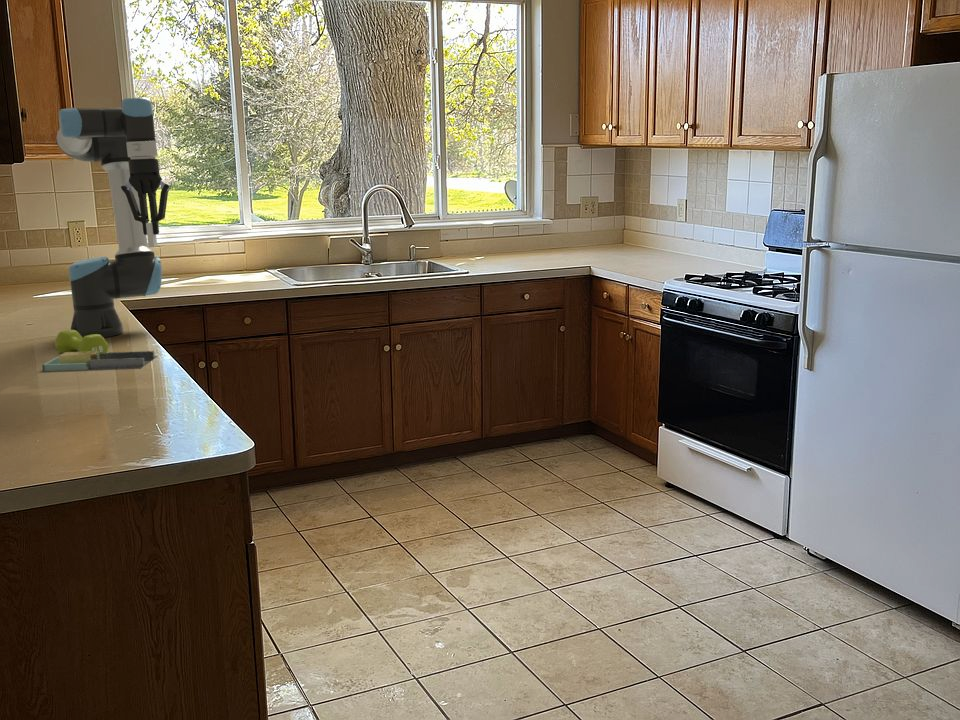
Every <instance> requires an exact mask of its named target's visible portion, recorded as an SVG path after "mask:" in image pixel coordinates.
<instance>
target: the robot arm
mask: <svg viewBox="0 0 960 720" xmlns="http://www.w3.org/2000/svg"><path fill="white" fill-rule="evenodd" d="M58 120H59V121H58V122H59V123H58V124H59V129H58V131H57V132H56V133H57V134H56V138H55V139H56V144H57V147H58V148H59V150H60V151H61V152H62V153H63V154H64V155H66V156H68V157H69V158H72V159H74V160H78V161H82V162H89V163H90V162H92V163H93V162H94V163H95V162H97V163H98V162H99V163H100V164H101V169H103V170H104V171H105V172H107V175H108V182H109V189H110V196H111V201H112V208H113V209H112V210H113V216H114V223H115V228H116V229H115V230H116V236H117V244H118V250H117V252H116V253H115V254H114V258H115V260H110V259H109V257H107V256H100V257H99V256H98V257H92V258H87V259H82V260H79V261H75V262H73V263H71V265H70V266H69V268H68V274H69V275H68V277H69V278H68V281H69V282H70V283H69V284H70V288H71V289H70V290H71V297H72V307H73V316H72V320H71V325H70V329H69V330H76V331H77V332H78V333H79V334H80V335H81V336H82V338H83V337H84V336H87V335H92V334H99V335H101V336H102V337H103V338H109V337H114V336H117V335H120V334H123V333H124V325H123V323H122V321H121V318H120V316H119V314H118V312H117V310H116V307H115V302H114V300H115V299H116V300H117V299H125V298H134V297H135V298H136V297H147V296H153V295H157V294H158V293H159V292H160V291H161V287H162V278H163V276H162V273H163V272H162V270H163V269H162V260H161V258H160V257H158V256H155V252H154V250H153V249H152V248H156V247H158V241H157V235H159V234H160V228H159V227H160V226H159V222H160V221H162V220H165V219H166V218H165V217H166V211H167V206H168V205H167V203H168V196H169V192H170V190H171V187H172V184H171V183H167V182H165V181H164V180H163V178H162V176H161V175H160V167H159V160H158V158H156V157H158V147H157V141H156V131H155V119H154V110H153V104H152V100H151V99H150V98H147V97H126V98H125V97H124V98H123V99H122V100H121V107H101V108H100V107H99V108H97V107H96V108H91V107H90V108H84V107H83V108H80V107H79V108H78V107H77V108H75V107H70V108H62V109H60V110H59V111H58ZM159 187H160V190H161V191H160V195H159V205H158V204H157V203H158V202H157V191H158V189H159ZM147 197H148V199H147ZM147 200H148V201H147ZM148 205H149V208H148ZM157 205H158V206H157ZM149 213H150V218H149Z"/></svg>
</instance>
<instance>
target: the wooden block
mask: <svg viewBox="0 0 960 720" xmlns="http://www.w3.org/2000/svg"><path fill="white" fill-rule="evenodd" d="M77 353H79V351H71V352H62V353H60V354H59V355H58V356H59V364H74V363H75V355H76V354H77Z"/></svg>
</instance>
